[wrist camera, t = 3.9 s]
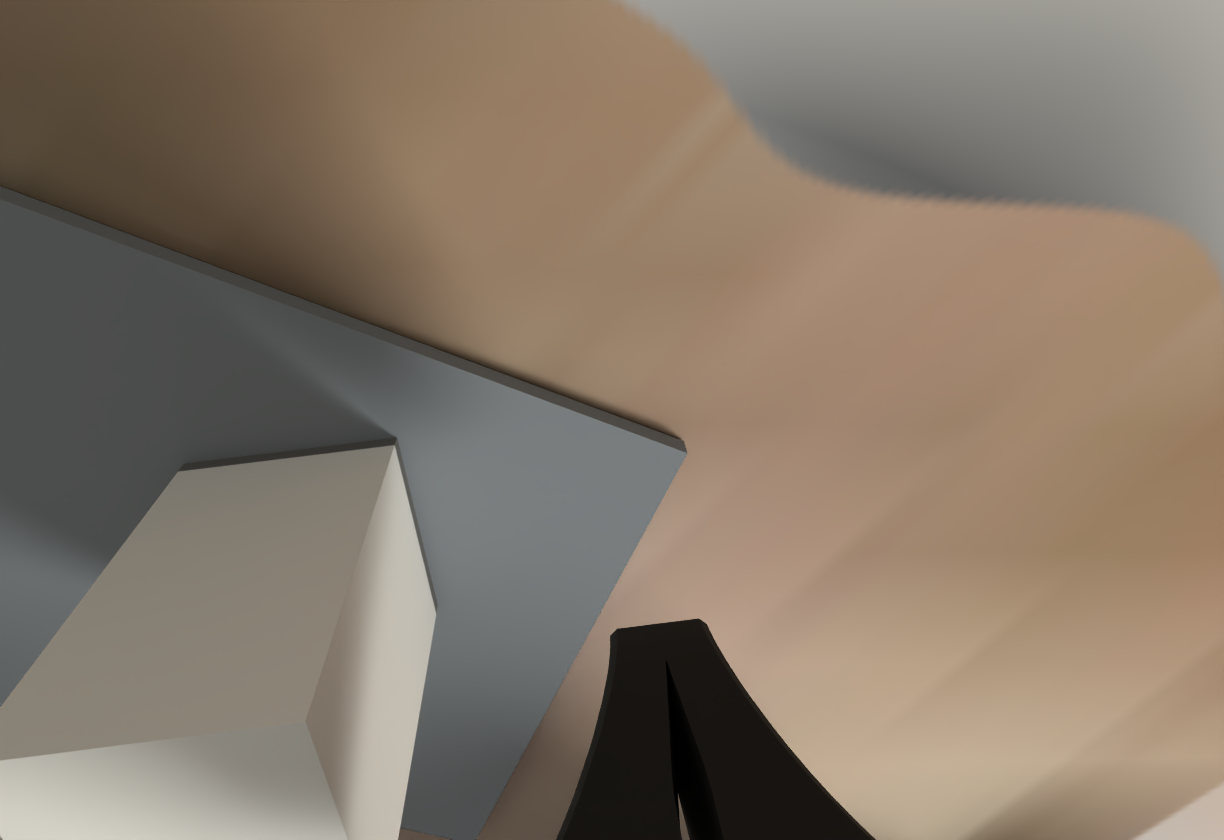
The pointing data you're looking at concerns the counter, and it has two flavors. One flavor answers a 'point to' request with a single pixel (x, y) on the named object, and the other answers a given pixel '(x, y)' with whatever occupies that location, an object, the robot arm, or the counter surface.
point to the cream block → (236, 663)
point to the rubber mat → (300, 419)
